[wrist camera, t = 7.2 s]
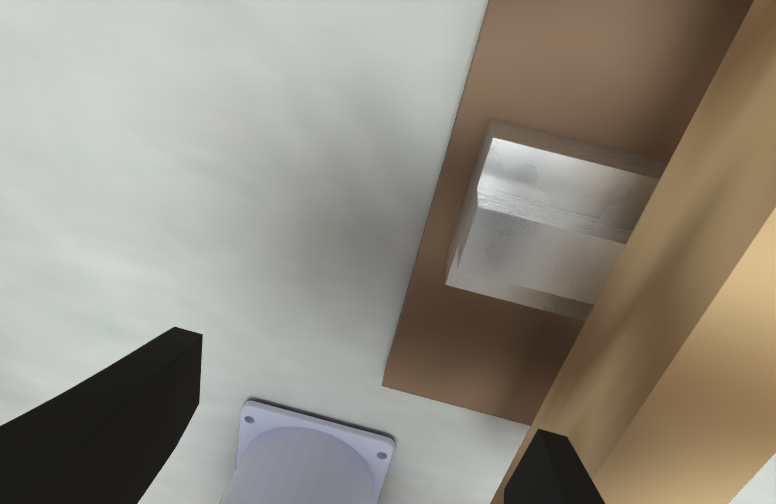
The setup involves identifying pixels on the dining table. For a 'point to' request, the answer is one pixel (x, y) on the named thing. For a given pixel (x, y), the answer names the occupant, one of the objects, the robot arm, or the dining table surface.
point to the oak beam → (687, 310)
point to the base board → (562, 117)
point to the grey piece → (547, 218)
